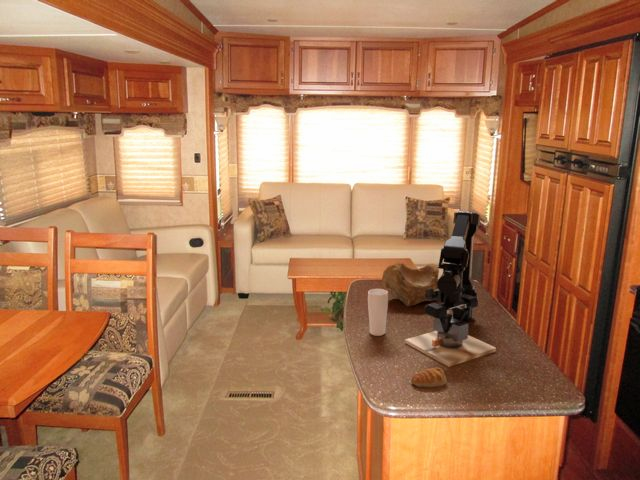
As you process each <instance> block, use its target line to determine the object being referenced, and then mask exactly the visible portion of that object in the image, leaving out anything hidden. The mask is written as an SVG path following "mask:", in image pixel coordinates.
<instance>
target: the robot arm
mask: <svg viewBox="0 0 640 480" xmlns="http://www.w3.org/2000/svg"><path fill="white" fill-rule="evenodd" d="M481 220H482V219H481V215H480V214H478V212H475V211H469V210H458V211H456V212H454V214H453V220H452V221H453V222H452V224H453V229H452V233H451V236H450V238H449V239H447V240H445V242H444V245H443V247H441V250H440V255H439V261H438V265H437V266H438V269H439V270H442V274H441V275H440V277H438V282H437V287H438V289H436V290H433V289H427V290H426V292H425V296H426V299H430V301H429V302H432V303H429V304H425V306H424V312H423V314H426V315H427V316H431V317H432V318H434V317H435V318H439V320H440V322H441V325H442V328H443V331H444V333H447V332H448V329H449V326H450V322H451V319H452V317H454V318H457V319H459V320H461V321H464V322H466V323H469V322H471V321H475V320H476V318H475V317H473V309H474V308H476V307H479V306H478V305H479V300H478V299H479V298H478V293H477V290H476V289H475V281H474V279H473V278H472V277H471V274H472V273H471V271H472V255H473V241H474V238H473V237H474V235H475V234H476V233H477V231H478V230H479V227H480V225H481ZM433 301H437V302H438V303H436V302H433ZM440 303H442V304H440ZM450 311H451V312H452V314H450Z"/></svg>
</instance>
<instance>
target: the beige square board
mask: <svg viewBox="0 0 640 480" xmlns="http://www.w3.org/2000/svg"><path fill="white" fill-rule="evenodd" d="M437 332H438V331H435V330H433V331H430V332H427V333H423V334H420V335H417V336H412V337H408V338H406V339H404V344H406V345H408V346H409V347H412V348H414V349H416V350H417V351H419V352H421V353H423V354H425V355H426V356H428V357H430V358H431V359H434V360H435V361H437V362H439V363H441V364H443V365H445V366H446V367H447V368H450V367H453V366H456V365H459V364H462V363H466V362H468V361H471V360H474V359H477V358H480V357H483V356H486V355H490V354H492V353H495V352H496V351H497V348H496V347H495V346H493V345H491V344H489V343H487V342H484V341H482V340H480V339H478V338H475V337H474V336H472V335H469V334H468V339H465V340H463V345H462V346H461V347H458V348H446V347H443V346H440V345H439V346H436V347H434V346H432V340H433V339H436V338H437Z"/></svg>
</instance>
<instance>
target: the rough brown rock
mask: <svg viewBox="0 0 640 480" xmlns="http://www.w3.org/2000/svg"><path fill="white" fill-rule="evenodd" d="M438 266H439V265H436V264H434V263H427V264H426V265H424V266H422V267H420V268H413V267H412V268H411V267H408V266H406V265H405V264H404V263H403V262H399V261H398V262H395V263H393V264H389V266H386V268H385V270H383V273H382V278H381V281H382V282H381V283H382V286H383V287H384V288H385V289H387V290H389V291H388V292H389V293H390V297H391V298H393V299H394V300H399V301H400V302H402V304H403V305H405V306H406V307H412V306H416V305H418V304H420V303H422V302H431V301H430V299H426V296H425V292H426V290H427V289H433V290H436V289H438V287H437V282H438V280H439V272H440V269H438Z"/></svg>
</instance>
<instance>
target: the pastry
mask: <svg viewBox="0 0 640 480" xmlns="http://www.w3.org/2000/svg"><path fill="white" fill-rule="evenodd" d="M410 383H411V385H414V386H415V387H417V388H434V387H442V386H445V385H446V384H447V377H446V374H445V372H444V370H443V368H441V367H437V366H435V367H433V368H432V367H431V368H430V367H429V368H423V369H422V370H421V371H419V372H417V373H415V374H414V375H412V376H411V381H410Z"/></svg>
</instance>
